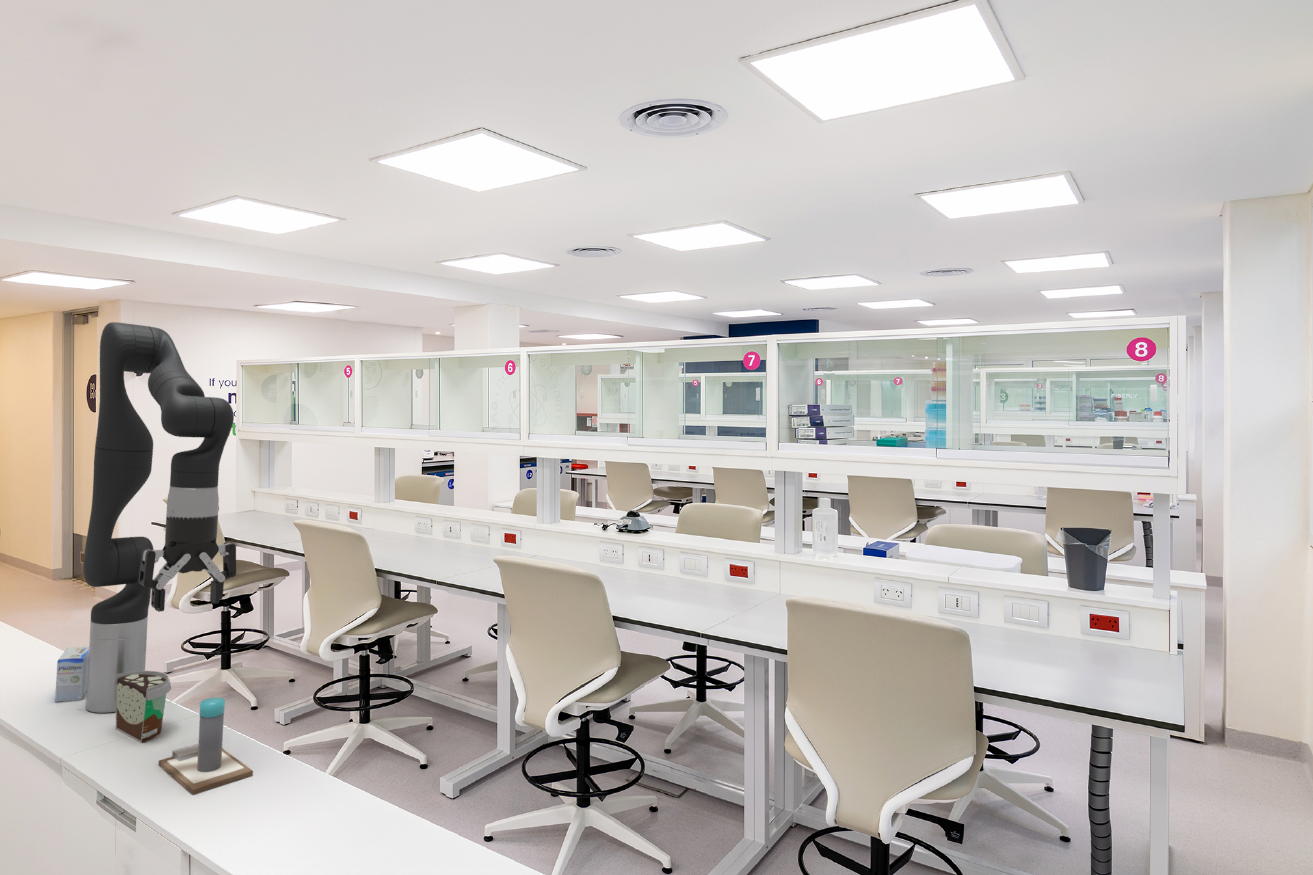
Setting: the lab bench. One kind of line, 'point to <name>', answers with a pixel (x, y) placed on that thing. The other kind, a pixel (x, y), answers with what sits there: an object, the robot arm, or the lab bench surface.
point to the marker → (210, 734)
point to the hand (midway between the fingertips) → (187, 606)
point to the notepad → (194, 781)
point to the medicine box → (72, 674)
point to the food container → (141, 703)
